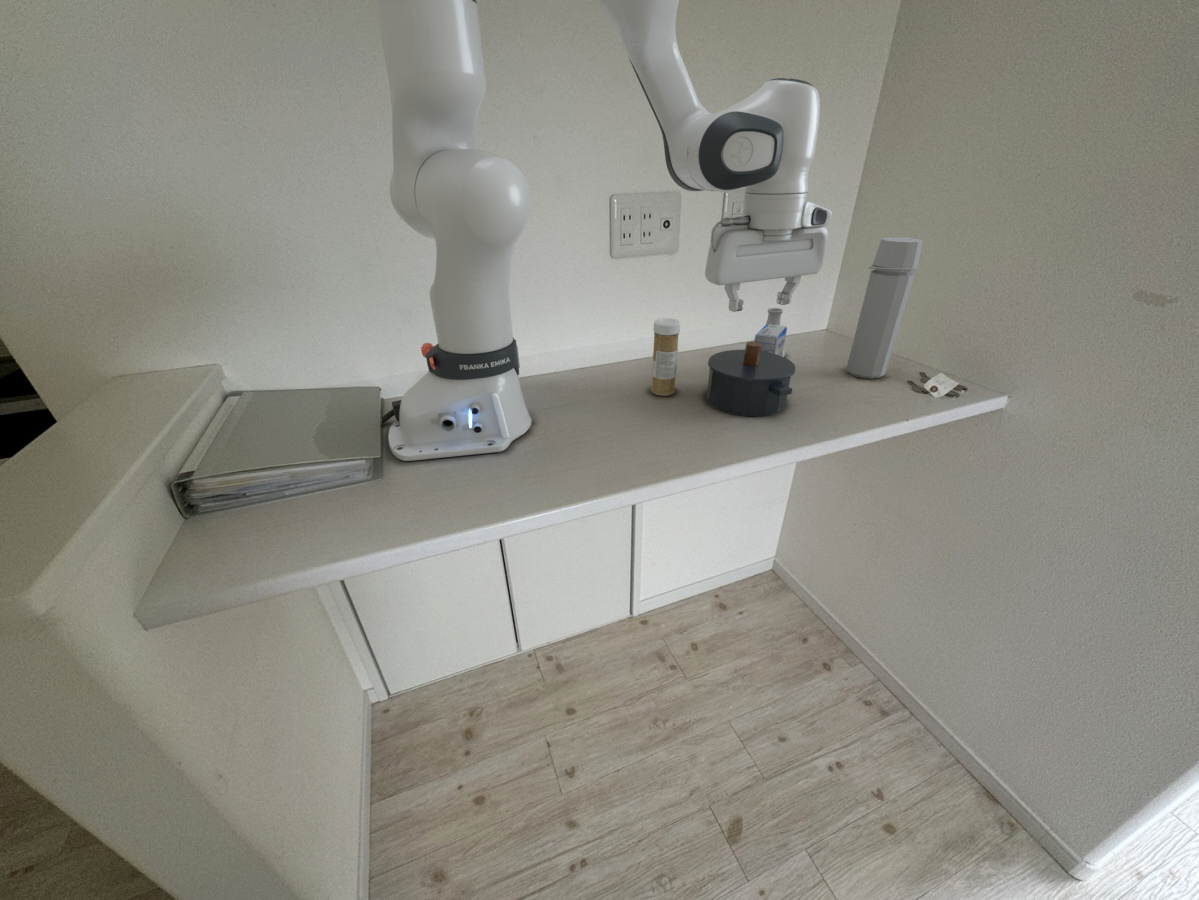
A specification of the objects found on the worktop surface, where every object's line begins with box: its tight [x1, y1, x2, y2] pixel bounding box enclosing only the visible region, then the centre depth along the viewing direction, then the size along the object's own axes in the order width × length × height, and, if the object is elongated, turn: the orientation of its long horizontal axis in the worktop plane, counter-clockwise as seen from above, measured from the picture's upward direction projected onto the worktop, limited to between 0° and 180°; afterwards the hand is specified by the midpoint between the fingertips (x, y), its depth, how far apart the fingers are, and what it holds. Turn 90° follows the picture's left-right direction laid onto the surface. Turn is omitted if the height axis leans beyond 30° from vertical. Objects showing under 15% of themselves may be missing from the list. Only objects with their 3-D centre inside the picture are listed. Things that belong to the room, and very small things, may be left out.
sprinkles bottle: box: [650, 317, 681, 397], centre depth 89 cm, size 5×5×13 cm
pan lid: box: [707, 341, 796, 382], centre depth 85 cm, size 15×15×5 cm
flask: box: [765, 307, 786, 357], centre depth 107 cm, size 7×7×10 cm
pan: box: [706, 368, 793, 418], centre depth 88 cm, size 14×19×6 cm
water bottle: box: [846, 236, 924, 380], centre depth 94 cm, size 9×8×25 cm
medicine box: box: [753, 324, 788, 356], centre depth 99 cm, size 8×4×9 cm, turn 150°
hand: (759, 307), depth 81 cm, fingers open, 8 cm apart
